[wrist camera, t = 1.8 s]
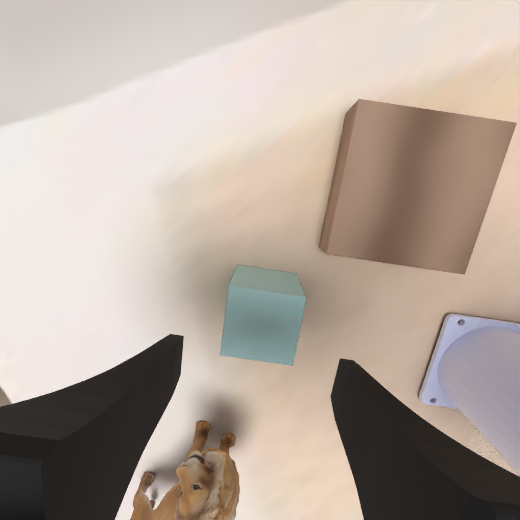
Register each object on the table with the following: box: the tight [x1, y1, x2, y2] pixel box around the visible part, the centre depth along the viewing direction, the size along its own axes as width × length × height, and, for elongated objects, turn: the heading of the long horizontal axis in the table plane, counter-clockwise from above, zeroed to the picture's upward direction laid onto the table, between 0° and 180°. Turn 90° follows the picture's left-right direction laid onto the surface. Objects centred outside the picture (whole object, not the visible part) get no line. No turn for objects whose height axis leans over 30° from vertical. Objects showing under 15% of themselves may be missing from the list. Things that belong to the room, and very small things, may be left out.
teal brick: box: [220, 265, 306, 366], centre depth 18 cm, size 4×4×5 cm
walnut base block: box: [319, 99, 516, 274], centre depth 17 cm, size 9×9×2 cm
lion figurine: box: [130, 421, 240, 520], centre depth 20 cm, size 15×5×9 cm, turn 146°
